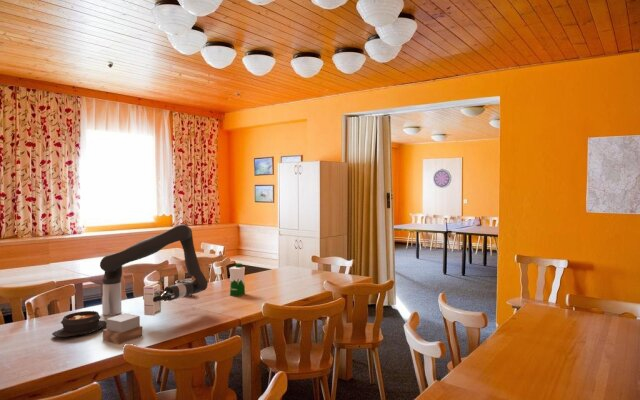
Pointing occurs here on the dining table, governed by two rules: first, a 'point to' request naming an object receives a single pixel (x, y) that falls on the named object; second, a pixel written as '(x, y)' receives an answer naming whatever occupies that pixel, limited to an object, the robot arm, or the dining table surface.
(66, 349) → the dining table surface
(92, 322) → the casserole
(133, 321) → the white square block
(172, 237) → the robot arm
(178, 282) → the food container
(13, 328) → the dining table surface
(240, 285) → the milk carton
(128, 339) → the walnut base block
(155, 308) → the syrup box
